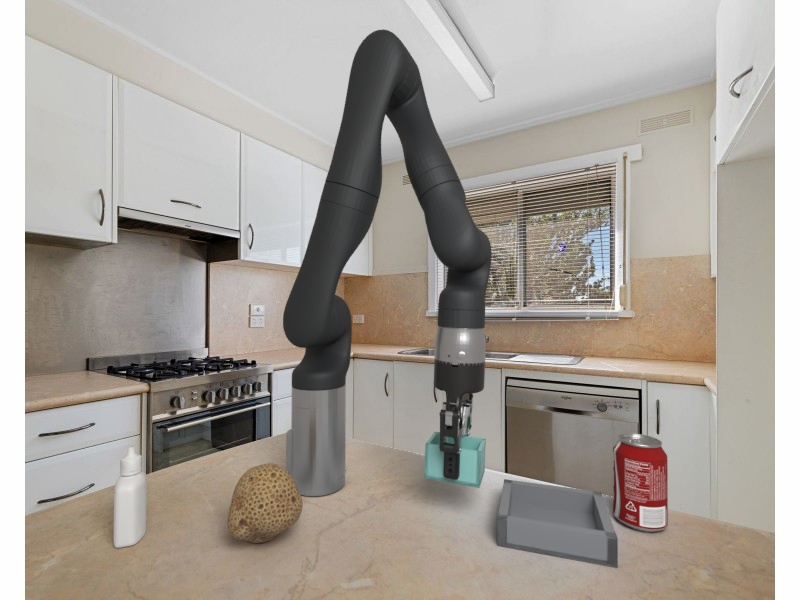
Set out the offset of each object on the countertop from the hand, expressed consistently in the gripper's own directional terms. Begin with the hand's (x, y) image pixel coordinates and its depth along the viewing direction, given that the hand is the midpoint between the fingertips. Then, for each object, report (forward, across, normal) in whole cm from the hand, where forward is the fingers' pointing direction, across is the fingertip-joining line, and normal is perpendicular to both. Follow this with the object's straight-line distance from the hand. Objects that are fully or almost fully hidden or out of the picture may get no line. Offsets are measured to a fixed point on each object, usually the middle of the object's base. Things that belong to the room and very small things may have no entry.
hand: (455, 468), depth 61 cm
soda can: (+6, -6, +26) cm, 27 cm away
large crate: (+6, 0, +14) cm, 15 cm away
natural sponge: (+8, +15, -22) cm, 28 cm away
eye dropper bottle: (+8, +20, -40) cm, 46 cm away
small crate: (+1, 0, 0) cm, 1 cm away
